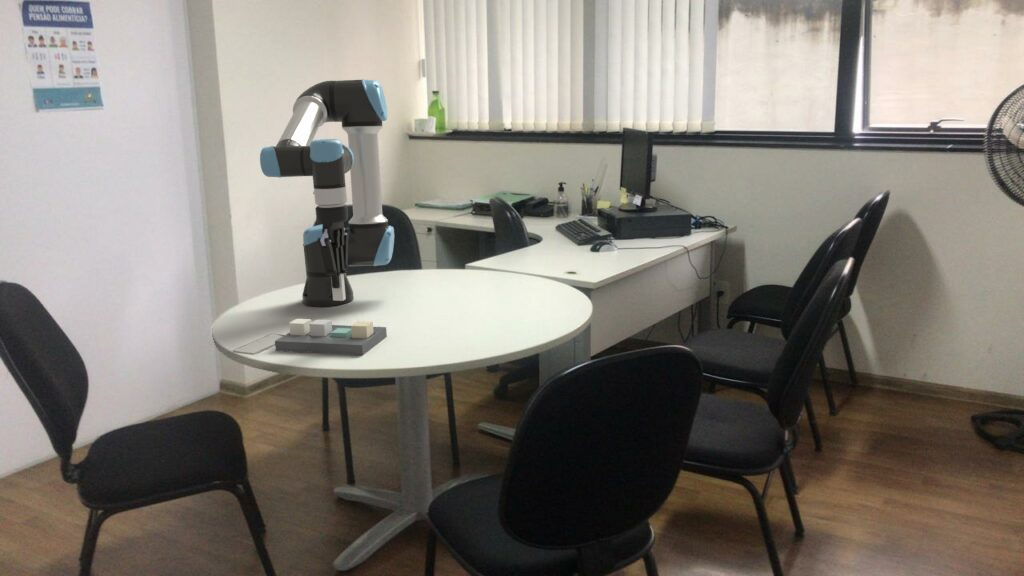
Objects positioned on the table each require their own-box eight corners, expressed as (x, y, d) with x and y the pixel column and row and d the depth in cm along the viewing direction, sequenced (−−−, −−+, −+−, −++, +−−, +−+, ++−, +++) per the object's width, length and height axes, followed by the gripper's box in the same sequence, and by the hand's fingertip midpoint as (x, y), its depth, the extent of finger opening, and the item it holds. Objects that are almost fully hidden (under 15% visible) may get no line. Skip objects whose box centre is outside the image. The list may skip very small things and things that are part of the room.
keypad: (304, 332, 209) (304, 323, 208) (386, 336, 204) (386, 327, 203) (275, 350, 195) (274, 341, 194) (363, 355, 190) (362, 345, 189)
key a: (297, 330, 203) (296, 318, 202) (312, 331, 202) (310, 319, 201) (290, 334, 199) (288, 323, 198) (304, 335, 198) (303, 323, 198)
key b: (317, 331, 202) (316, 319, 201) (332, 331, 201) (331, 320, 200) (310, 335, 198) (309, 323, 197) (325, 336, 197) (324, 324, 196)
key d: (358, 333, 199) (357, 321, 198) (373, 333, 198) (372, 321, 198) (352, 337, 195) (351, 325, 195) (367, 338, 194) (366, 326, 194)
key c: (338, 339, 201) (337, 327, 200) (353, 340, 200) (352, 328, 199) (331, 344, 197) (330, 332, 196) (346, 345, 196) (345, 333, 196)
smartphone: (230, 350, 195) (271, 333, 209) (230, 353, 195) (271, 335, 209) (254, 353, 192) (294, 335, 206) (254, 356, 192) (294, 338, 206)
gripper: (328, 200, 197) (336, 292, 203) (304, 209, 185) (313, 306, 191) (357, 200, 196) (364, 293, 202) (333, 209, 183) (342, 307, 189)
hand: (339, 299), depth 196 cm, fingers closed
